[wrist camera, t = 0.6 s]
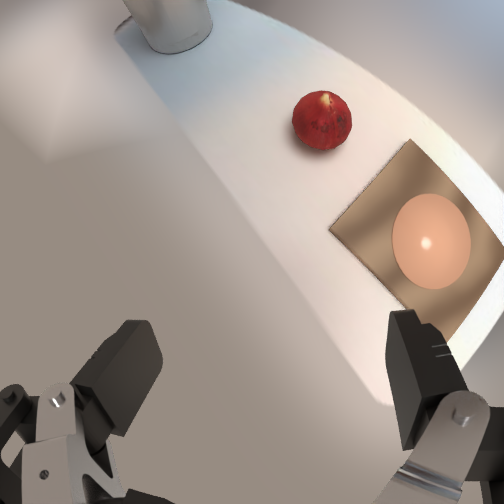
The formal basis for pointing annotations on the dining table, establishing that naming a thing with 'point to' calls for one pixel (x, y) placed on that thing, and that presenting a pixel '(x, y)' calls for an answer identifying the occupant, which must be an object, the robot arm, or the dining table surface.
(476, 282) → the serving board
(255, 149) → the dining table surface
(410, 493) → the robot arm
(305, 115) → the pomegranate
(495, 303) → the dining table surface
